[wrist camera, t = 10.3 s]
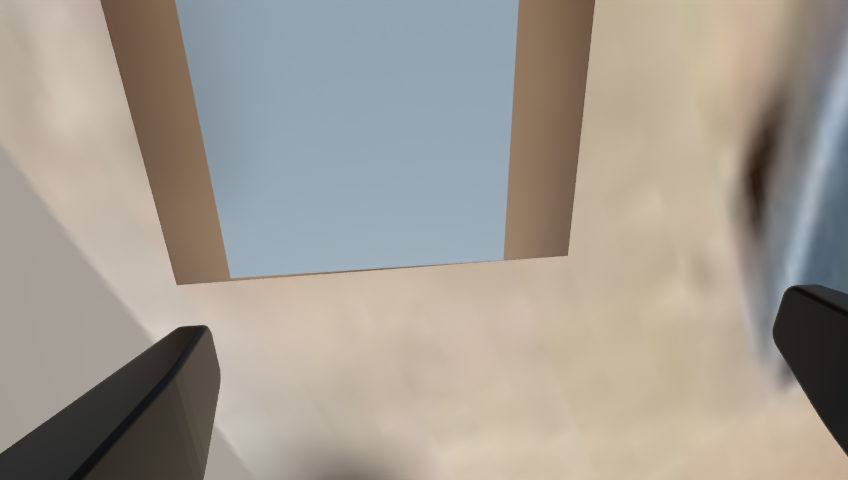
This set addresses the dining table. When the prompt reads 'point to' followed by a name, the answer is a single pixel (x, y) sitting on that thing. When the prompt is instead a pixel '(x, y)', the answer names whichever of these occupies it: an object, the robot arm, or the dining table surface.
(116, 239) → the dining table surface
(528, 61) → the walnut slab
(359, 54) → the slate block
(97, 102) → the dining table surface
